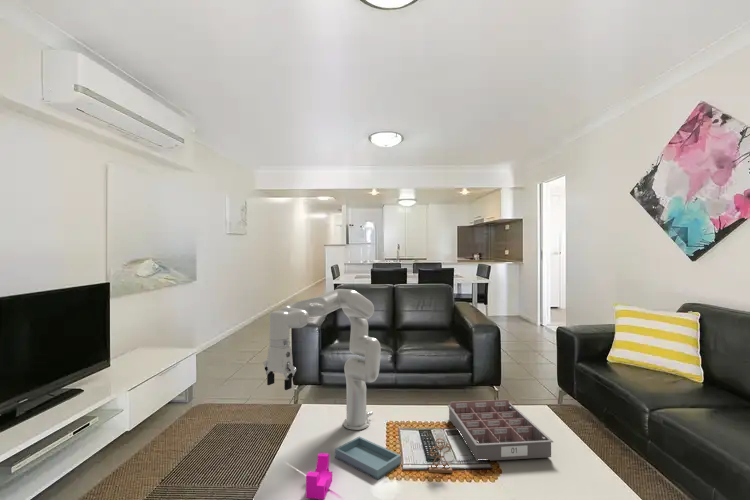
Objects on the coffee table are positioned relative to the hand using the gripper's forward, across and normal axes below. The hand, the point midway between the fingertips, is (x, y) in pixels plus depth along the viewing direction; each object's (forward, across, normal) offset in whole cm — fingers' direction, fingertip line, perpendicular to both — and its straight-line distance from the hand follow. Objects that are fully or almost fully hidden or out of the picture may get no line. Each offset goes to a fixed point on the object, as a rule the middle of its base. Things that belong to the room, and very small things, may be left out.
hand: (279, 386), depth 150 cm
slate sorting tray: (+31, -27, -22) cm, 46 cm away
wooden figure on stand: (+31, -53, -32) cm, 70 cm away
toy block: (+31, -22, 0) cm, 38 cm away
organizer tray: (+31, -64, -68) cm, 98 cm away
